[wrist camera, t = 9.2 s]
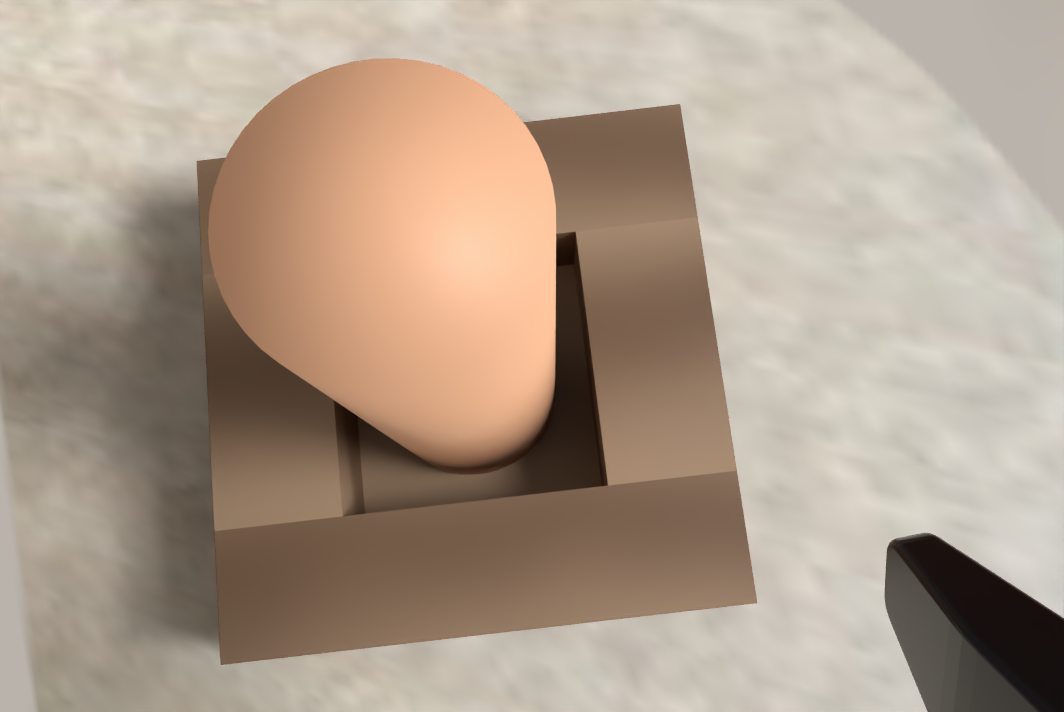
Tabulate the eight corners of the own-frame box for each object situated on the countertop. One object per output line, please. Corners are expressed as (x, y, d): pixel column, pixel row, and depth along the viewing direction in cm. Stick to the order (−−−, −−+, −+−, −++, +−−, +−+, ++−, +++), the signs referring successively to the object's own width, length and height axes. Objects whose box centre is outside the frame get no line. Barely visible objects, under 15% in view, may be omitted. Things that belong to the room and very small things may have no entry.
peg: (584, 427, 23) (617, 293, 11) (432, 504, 23) (293, 453, 11) (509, 282, 24) (462, 4, 12) (361, 354, 24) (155, 148, 11)
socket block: (732, 596, 23) (757, 602, 20) (264, 650, 23) (221, 664, 20) (665, 156, 25) (679, 104, 22) (238, 206, 25) (196, 161, 22)
